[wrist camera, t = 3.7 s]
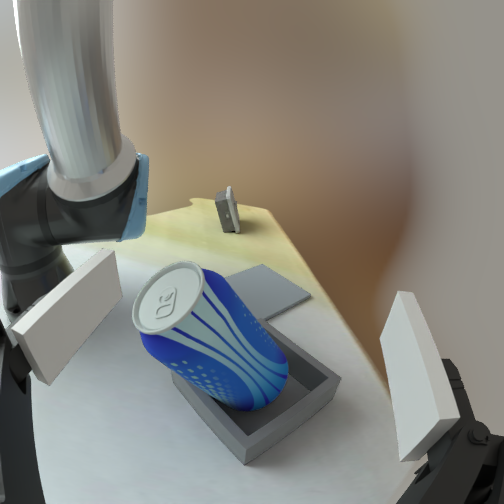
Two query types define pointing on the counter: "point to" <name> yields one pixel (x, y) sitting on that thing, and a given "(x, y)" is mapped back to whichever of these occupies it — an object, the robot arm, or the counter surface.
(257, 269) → the coaster mat
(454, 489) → the robot arm
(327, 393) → the grey storage bin
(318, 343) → the counter surface
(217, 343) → the beer can
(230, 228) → the electrical switch
